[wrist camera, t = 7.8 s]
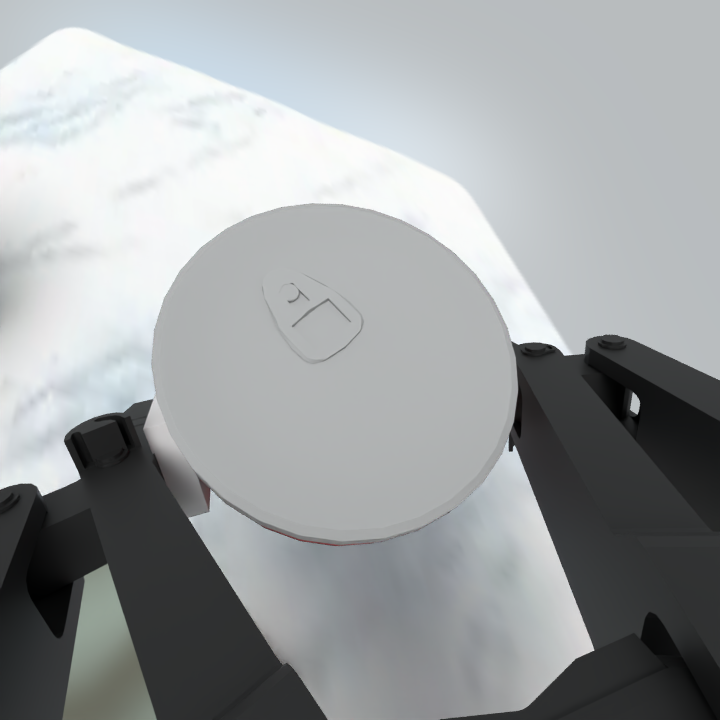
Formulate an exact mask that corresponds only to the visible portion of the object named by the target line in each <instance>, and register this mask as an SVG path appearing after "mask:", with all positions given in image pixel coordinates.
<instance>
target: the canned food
mask: <svg viewBox="0 0 720 720" xmlns="http://www.w3.org/2000/svg"><path fill="white" fill-rule="evenodd" d="M151 364H152V371H153V378H154V385H155V392H156V399H157V402H158V405H159V407H160V410H161V412H162V415H163V418H164V420H165V423H166V425H167V428H168V431H169V433H170V435H171V437H172V439H173V440H174V442H175V443H176V445H177V446H178V448H179V449H180V451H181V452H182V454H183V455H184V457H185V458H186V460H187V461H188V463H189V464H190V466H191V467H192V469H193V470H194V472H195V474H196V475H197V476H198V477H199V478H200V479H201V480H202V481H203V482H204V483H205V484H206V485H207V486H208V487H209V488H210V489H211V490H212V491H213V492H214V493H215V494H216V495H217V496H218V497H219V498H221V499H222V500H223V501H224V502H225V503H226V504H227V505H229V506H231V507H232V508H234V509H235V510H237V511H238V512H240V513H242V514H243V515H245V516H246V517H248V518H250V519H251V520H253V521H254V522H256V523H258V524H259V525H261V526H262V527H264V528H266V529H269V530H271V531H274V532H277V533H280V534H282V535H285V536H288V537H290V538H293V539H296V540H299V541H304V542H311V543H318V544H325V545H332V546H343V545H357V544H370V543H376V542H382V541H385V540H389V539H392V538H395V537H399V536H402V535H405V534H409V533H412V532H415V531H418V530H419V529H421V528H423V527H425V526H426V525H428V524H430V523H432V522H433V521H435V520H437V519H439V518H440V517H442V516H444V515H446V514H447V513H449V512H450V511H451V510H453V509H454V508H456V507H457V506H458V505H459V504H460V503H461V502H463V501H464V500H465V499H466V498H467V497H468V496H469V495H470V494H471V493H472V492H473V491H474V490H475V489H476V488H478V487H479V486H480V485H481V484H482V483H483V481H484V480H485V478H486V477H487V475H488V474H489V472H490V471H491V469H492V468H493V466H494V465H495V463H496V462H497V460H498V459H499V457H500V456H501V454H502V452H503V450H504V447H505V444H506V442H507V439H508V436H509V434H510V431H511V428H512V426H513V423H514V417H515V409H516V402H517V395H518V381H517V367H516V357H515V353H514V350H513V346H512V342H511V339H510V335H509V332H508V328H507V326H506V324H505V322H504V320H503V318H502V316H501V313H500V311H499V309H498V307H497V305H496V303H495V301H494V299H493V298H492V296H491V295H490V294H489V292H488V291H487V290H486V288H485V287H484V285H483V284H482V283H481V281H480V280H479V278H478V277H477V276H476V274H475V273H474V272H473V271H472V270H471V269H470V268H469V267H468V266H467V265H466V264H465V263H464V262H463V261H462V260H461V259H460V258H459V257H458V256H457V255H456V254H455V253H454V252H452V251H451V250H450V249H448V248H447V247H445V246H444V245H443V244H441V243H440V242H439V241H437V240H436V239H435V238H433V237H432V236H430V235H429V234H427V233H425V232H423V231H421V230H420V229H418V228H416V227H414V226H412V225H410V224H408V223H406V222H404V221H402V220H400V219H397V218H394V217H391V216H388V215H385V214H382V213H380V212H377V211H374V210H369V209H364V208H359V207H353V206H348V205H343V204H313V203H312V204H304V205H296V206H287V207H281V208H277V209H274V210H271V211H267V212H264V213H260V214H257V215H254V216H251V217H249V218H247V219H245V220H243V221H241V222H239V223H237V224H235V225H233V226H231V227H229V228H227V229H225V230H224V231H222V232H221V233H220V234H218V235H217V236H216V237H214V238H213V239H212V240H210V241H209V242H208V243H206V244H205V245H204V246H202V247H201V248H200V249H199V250H198V251H197V253H196V254H195V255H194V256H193V257H192V258H191V259H190V260H189V261H188V263H187V264H186V265H185V266H184V267H183V268H182V269H181V270H180V272H179V274H178V275H177V277H176V279H175V281H174V282H173V284H172V286H171V287H170V289H169V291H168V293H167V294H166V296H165V298H164V301H163V304H162V307H161V310H160V313H159V316H158V320H157V323H156V326H155V329H154V339H153V351H152V363H151Z"/></svg>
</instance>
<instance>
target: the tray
mask: <svg viewBox="0 0 720 720" xmlns="http://www.w3.org/2000/svg"><path fill="white" fill-rule="evenodd" d="M84 579H85V583H84V589H83V595H82V601H81V608H80V614H79V620H78V626H77V632H76V638H75V645H74V651H73V657H72V663H71V669H70V675H69V682H68V688H67V694H66V700H65V706H64V712H63V718H62V720H157V719H156V716H155V712H154V709H153V706H152V703H151V700H150V696H149V693H148V690H147V687H146V684H145V681H144V677H143V674H142V671H141V668H140V665H139V662H138V658H137V655H136V652H135V649H134V646H133V643H132V639H131V636H130V633H129V630H128V627H127V624H126V620H125V617H124V614H123V611H122V608H121V604H120V601H119V598H118V595H117V592H116V589H115V585H114V582H113V579H112V576H111V573H110V570H109V566H108V564H106V565H104V566H102V567H100V568H98V569H97V570H95V571H93V572H91V573H89V574H87V575H85V576H84Z"/></svg>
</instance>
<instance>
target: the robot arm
mask: <svg viewBox="0 0 720 720" xmlns="http://www.w3.org/2000/svg"><path fill="white" fill-rule="evenodd" d="M511 342H512V341H511ZM512 346H513V350H514V353H515V357H516V367H517V381H518V395H517V402H516V409H515V417H514V423H513V426H512V428H511V431H510V434H509V452H511V451H513V446H514V445H515V446H516V448H517V451H518V454H519V456H520V459H521V461H522V464H523V466H524V469H525V472H526V474H527V477H528V479H529V482H530V484H531V487H532V490H533V492H534V495H535V497H536V500H537V502H538V505H539V508H540V510H541V513H542V515H543V518H544V520H545V523H546V526H547V528H548V531H549V533H550V536H551V538H552V541H553V544H554V546H555V549H556V551H557V554H558V556H559V559H560V562H561V564H562V567H563V569H564V572H565V574H566V577H567V580H568V582H569V585H570V587H571V590H572V592H573V595H574V598H575V600H576V603H577V605H578V608H579V610H580V613H581V616H582V618H583V621H584V623H585V626H586V628H587V631H588V634H589V636H590V639H591V641H592V644H593V647H594V650H595V651H592V652H590V653H588V654H586V655H583V656H581V657H579V658H577V659H575V660H574V661H573V662H572V663H571V664H570V665H569V666H568V667H567V668H566V669H565V670H564V671H563V672H562V673H561V674H560V675H559V676H558V677H557V678H556V679H555V680H554V681H553V682H552V683H551V684H550V685H549V686H548V687H547V688H546V689H545V690H544V691H543V692H542V693H541V694H540V695H539V696H538V697H537V698H536V699H535V700H534V701H533V702H532V703H531V704H530V705H529V706H528V707H527V708H525V709H523V710H520V711H515V712H505V713H496V714H486V715H477V716H467V717H458V718H448V719H440V720H720V380H718V379H715V378H713V377H711V376H709V375H707V374H705V373H703V372H700V371H698V370H696V369H694V368H692V367H690V366H688V365H685V364H683V363H681V362H679V361H677V360H675V359H673V358H670V357H668V356H666V355H664V354H662V353H659V352H657V351H655V350H653V349H651V348H649V347H647V346H645V345H643V344H640V343H638V342H636V341H634V340H631V339H628V338H624V337H620V336H618V335H604V336H597V337H593V338H590V339H588V340H587V341H586V347H585V354H581V355H569V356H564V355H563V354H562V352H561V351H560V350H559V349H557V348H556V347H555V346H552V345H549V344H543V343H534V342H533V343H524V344H520V345H518V344H516V343H514V342H512ZM633 392H634V393H635V394H636V395H637V397H638V398H639V400H640V409H639V412H638V415H637V414H635V413H634V412H632V411H631V410H630V406H631V400H632V393H633ZM64 443H65V445H66V447H67V449H68V451H69V453H70V455H71V457H72V459H73V461H74V463H75V465H76V468H77V470H78V472H79V474H80V478H81V479H80V480H78V481H76V482H74V483H72V484H70V485H68V486H66V487H64V488H61V489H59V490H56V491H54V492H52V493H49V494H47V495H44V496H41V494H40V492H39V490H38V488H37V487H36V486H34V485H33V484H18V485H13V486H9V487H6V488H4V489H1V490H0V720H62V718H63V712H64V706H65V700H66V694H67V688H68V682H69V675H70V669H71V663H72V657H73V651H74V645H75V638H76V632H77V626H78V620H79V614H80V608H81V601H82V595H83V589H84V583H85V579H84V576H85V575H87V574H89V573H91V572H93V571H95V570H97V569H98V568H100V567H102V566H104V565H106V564H108V566H109V570H110V573H111V576H112V579H113V582H114V585H115V589H116V592H117V595H118V598H119V601H120V604H121V608H122V611H123V614H124V617H125V620H126V624H127V627H128V630H129V633H130V636H131V639H132V643H133V646H134V649H135V652H136V655H137V658H138V662H139V665H140V668H141V671H142V674H143V677H144V681H145V684H146V687H147V690H148V693H149V696H150V700H151V703H152V706H153V709H154V712H155V716H156V719H157V720H327V718H326V717H325V715H324V713H323V712H322V710H321V709H320V707H319V706H318V704H317V703H316V701H315V700H314V698H313V697H312V695H311V694H310V692H309V691H308V689H307V688H306V686H305V685H304V683H303V682H302V680H301V679H300V678H299V676H298V675H297V673H296V672H295V671H294V669H293V668H292V667H291V666H290V665H289V664H288V663H286V664H285V665H282V664H281V663H280V662H279V660H278V659H277V657H276V656H275V654H274V653H273V651H272V650H271V648H270V647H269V645H268V643H267V642H266V640H265V639H264V637H263V636H262V634H261V632H260V631H259V629H258V628H257V626H256V625H255V623H254V621H253V620H252V618H251V617H250V615H249V614H248V612H247V610H246V609H245V607H244V606H243V604H242V603H241V601H240V599H239V598H238V596H237V595H236V593H235V592H234V590H233V588H232V587H231V585H230V584H229V582H228V581H227V579H226V577H225V576H224V574H223V573H222V571H221V570H220V568H219V566H218V565H217V563H216V562H215V560H214V559H213V557H212V555H211V554H210V552H209V551H208V549H207V547H206V546H205V544H204V543H203V541H202V540H201V538H200V536H199V535H198V533H197V532H196V530H195V529H194V527H193V525H192V524H191V522H190V521H189V519H188V518H189V517H192V516H196V515H199V514H203V513H206V512H209V506H210V488H209V487H208V486H207V485H206V484H205V483H204V482H203V481H202V480H201V479H200V478H199V477H198V476H197V475H196V474H195V472H194V470H193V469H192V467H191V466H190V464H189V463H188V461H187V460H186V458H185V457H184V455H183V454H182V452H181V451H180V449H179V448H178V446H177V445H176V443H175V442H174V440H173V439H172V437H171V435H170V433H169V431H168V428H167V425H166V423H165V420H164V418H163V415H162V412H161V410H160V407H159V405H158V402H157V399H156V393H155V396H154V399H152V400H148V401H143V402H139V403H135V404H133V405H132V406H131V407H130V408H129V409H127V410H126V411H125V412H124V413H110V414H105V415H101V416H98V417H95V418H92V419H90V420H88V421H85V422H83V423H81V424H79V425H78V426H76V427H75V428H73V429H72V430H71V431H70V432H69V433H68V434H67V435H66V436H65V439H64Z"/></svg>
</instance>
